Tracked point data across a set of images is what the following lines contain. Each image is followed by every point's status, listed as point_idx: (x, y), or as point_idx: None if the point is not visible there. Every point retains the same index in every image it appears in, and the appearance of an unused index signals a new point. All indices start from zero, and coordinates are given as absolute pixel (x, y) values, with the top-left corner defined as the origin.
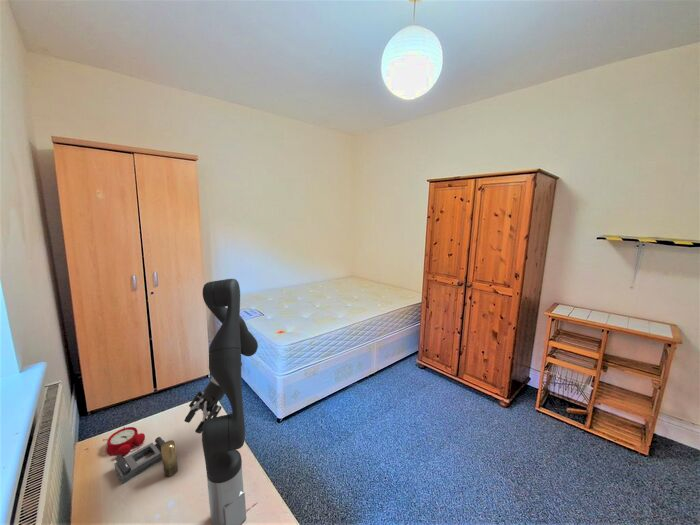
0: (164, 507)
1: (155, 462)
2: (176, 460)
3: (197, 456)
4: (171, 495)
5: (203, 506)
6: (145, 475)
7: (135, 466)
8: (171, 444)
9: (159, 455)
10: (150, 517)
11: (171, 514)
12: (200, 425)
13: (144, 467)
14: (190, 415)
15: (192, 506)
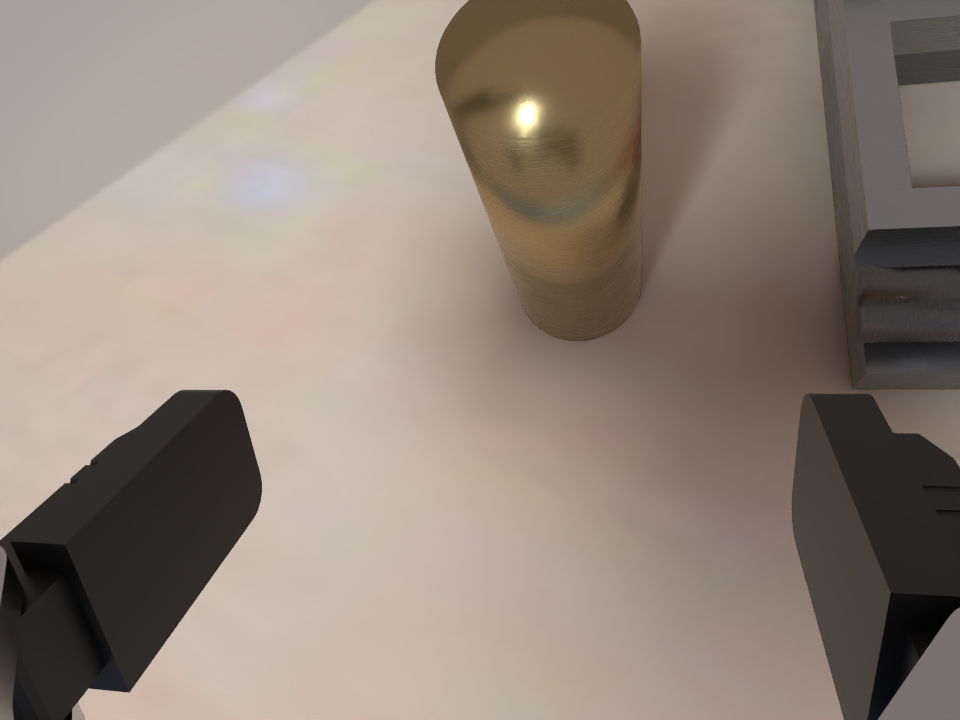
0: (285, 143)
1: (839, 210)
2: (530, 282)
3: (548, 553)
4: (334, 206)
5: (36, 325)
6: (749, 121)
7: (869, 3)
8: (492, 91)
9: (859, 224)
10: (301, 64)
11: (192, 159)
12: (86, 485)
13: (836, 107)
14: (841, 553)
15: (109, 274)
